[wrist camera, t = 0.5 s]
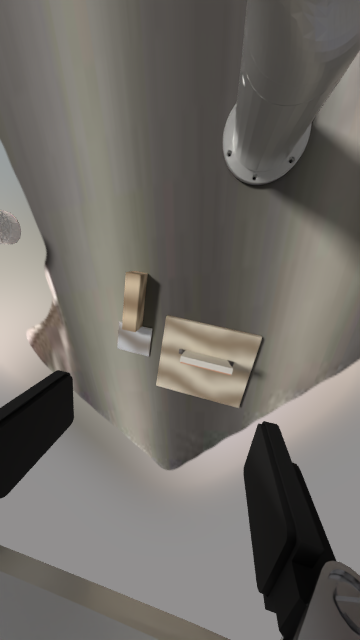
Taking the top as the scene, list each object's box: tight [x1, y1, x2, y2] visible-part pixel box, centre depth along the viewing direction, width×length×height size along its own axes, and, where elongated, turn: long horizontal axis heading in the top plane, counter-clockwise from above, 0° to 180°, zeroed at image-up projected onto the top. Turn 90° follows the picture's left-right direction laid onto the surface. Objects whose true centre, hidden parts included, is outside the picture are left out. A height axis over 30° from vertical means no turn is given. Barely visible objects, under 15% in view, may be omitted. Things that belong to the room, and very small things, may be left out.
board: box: [156, 315, 262, 408], centre depth 43 cm, size 18×20×2 cm
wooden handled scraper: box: [117, 271, 152, 356], centre depth 42 cm, size 19×8×4 cm, turn 171°
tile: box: [180, 350, 233, 375], centre depth 38 cm, size 9×9×1 cm
